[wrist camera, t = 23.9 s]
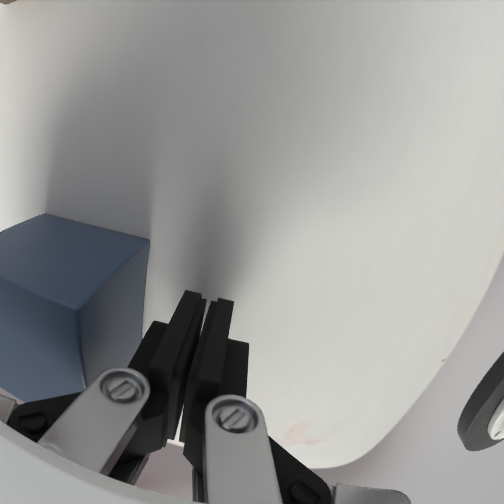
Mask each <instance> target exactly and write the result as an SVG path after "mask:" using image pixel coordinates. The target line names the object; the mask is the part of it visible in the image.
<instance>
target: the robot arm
mask: <svg viewBox="0 0 504 504" xmlns="http://www.w3.org/2000/svg"><path fill="white" fill-rule="evenodd" d="M201 295H202V294H200V293H196V292H192V291H188V290H185V292H184V294H183V296H182V298H181V300H180V302H179V304H178V306H177V308H176V310H175V312H174V314H173V316H172V318H171V320H170V322H169V324H166V323H162V322H159V321H153V322H152V324H151V326H150V327H149V329H148V331H147V333H146V334H145V336H144V338H143V340H142V341H141V343H140V345H139V347H138V349H137V350H136V352H135V354H134V356H133V358H132V359H131V361H130V363H129V365H128V367H120V366H118V367H110V368H108V369H105V370H103V371H102V372H100V373H99V374H98V375H97V376H96V377H95V378H94V379H93V380H92V381H91V383H90V384H89V385H88V386H87V387H86V388H85V389H84V390H83V391H81V392H77V393H72V394H68V395H63V396H58V397H53V398H48V399H43V400H37V401H31V402H27V403H24V404H21V405H19V404H17V402H16V400H14V399H11V398H9V397H6V396H3V395H0V504H411V501H410V500H409V498H408V497H407V496H406V495H405V494H404V493H402V492H400V491H396V490H389V489H377V488H368V487H359V486H351V485H346V484H339V483H336V484H335V485H334V486H333V485H327V483H325V482H324V481H323V480H322V479H321V478H320V477H319V476H317V475H316V474H315V473H313V472H312V471H311V470H309V469H308V468H307V467H306V466H304V465H303V464H302V463H301V462H299V461H298V460H297V459H296V458H294V457H293V456H292V455H291V454H290V453H288V452H287V451H286V450H285V449H284V448H282V447H281V446H280V445H279V444H278V443H276V442H275V441H274V440H273V439H272V438H271V437H270V436H268V433H267V428H266V423H265V418H264V415H263V413H262V410H261V409H260V408H259V407H258V406H257V405H256V404H255V403H254V402H252V401H251V400H249V399H247V398H246V391H247V373H248V356H249V343H246V342H241V341H236V340H232V339H228V335H229V329H230V323H231V317H232V311H233V305H234V301H230V300H225V299H221V298H218V301H217V302H216V301H211V303H210V306H209V309H208V312H207V315H206V319H205V322H204V325H203V328H202V322H203V317H204V312H205V307H206V301H207V299H203V298H201ZM201 328H202V332H201ZM200 333H201V335H200ZM183 405H184V407H183ZM182 409H183V415H182V422H181V429H180V437H179V442H183V443H185V444H184V451H183V455H184V456H185V457H186V458H187V460H188V461H189V462H190V463H191V464H192V465H193V470H192V482H193V483H192V485H193V501H189V500H185V499H180V498H176V497H172V496H168V495H164V494H160V493H156V492H152V491H149V490H146V489H142V488H139V487H136V486H134V485H135V483H136V481H137V479H138V478H139V476H140V474H141V472H142V470H143V468H144V466H145V465H146V463H147V461H148V459H149V456H150V453H152V452H154V451H157V450H159V449H161V448H162V447H165V446H166V442H167V439H171V440H174V438H175V435H176V431H177V427H178V424H179V420H180V416H181V412H182ZM488 433H489V435H490V437H491V438H492V439H494V440H499V439H502V438H504V398H503V400H502V401H501V403H500V404H499V405H498V407H497V408H496V410H495V412H494V414H493V415H492V417H491V420H490V422H489V425H488Z"/></svg>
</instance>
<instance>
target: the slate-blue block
mask: <svg viewBox="0 0 504 504" xmlns="http://www.w3.org/2000/svg"><path fill="white" fill-rule="evenodd" d="M149 245H150V241H149V240H148V239H144V238H140V237H136V236H131V235H127V234H123V233H119V232H115V231H111V230H107V229H103V228H99V227H95V226H91V225H87V224H83V223H79V222H75V221H71V220H67V219H63V218H59V217H55V216H51V215H47V214H41V215H39V216H36V217H34V218H31V219H29V220H27V221H24V222H22V223H19V224H17V225H15V226H12V227H10V228H8V229H6V230H3V231H1V232H0V387H1V388H3V389H5V390H6V391H7V392H9V393H11V394H12V395H14V396H15V397H17V398H19V399H20V400H22V401H24V402H26V403H27V402H31V401H37V400H43V399H48V398H53V397H58V396H63V395H68V394H72V393H77V392H81V391H83V390H84V389H85V388H86V387H87V386H88V385H89V384H90V383H91V381H92V380H93V379H94V378H95V377H96V376H97V375H98V374H99V373H100V372H102V371H103V370H105V369H108V368H110V367H118V366H120V367H128V365H129V363H130V361H131V359H132V358H133V356H134V354H135V352H136V350H137V349H138V347H139V345H140V343H141V338H142V320H143V305H144V292H145V281H146V271H147V262H148V253H149Z"/></svg>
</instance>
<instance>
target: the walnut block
mask: <svg viewBox="0 0 504 504" xmlns="http://www.w3.org/2000/svg"><path fill="white" fill-rule="evenodd" d="M14 1H16V0H0V3H3V4H9V3H11V2H14Z"/></svg>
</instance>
